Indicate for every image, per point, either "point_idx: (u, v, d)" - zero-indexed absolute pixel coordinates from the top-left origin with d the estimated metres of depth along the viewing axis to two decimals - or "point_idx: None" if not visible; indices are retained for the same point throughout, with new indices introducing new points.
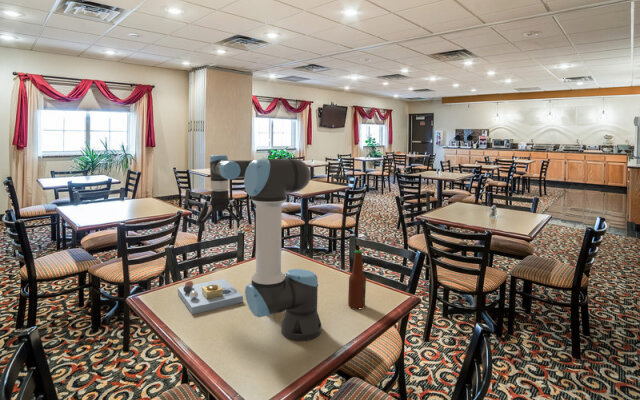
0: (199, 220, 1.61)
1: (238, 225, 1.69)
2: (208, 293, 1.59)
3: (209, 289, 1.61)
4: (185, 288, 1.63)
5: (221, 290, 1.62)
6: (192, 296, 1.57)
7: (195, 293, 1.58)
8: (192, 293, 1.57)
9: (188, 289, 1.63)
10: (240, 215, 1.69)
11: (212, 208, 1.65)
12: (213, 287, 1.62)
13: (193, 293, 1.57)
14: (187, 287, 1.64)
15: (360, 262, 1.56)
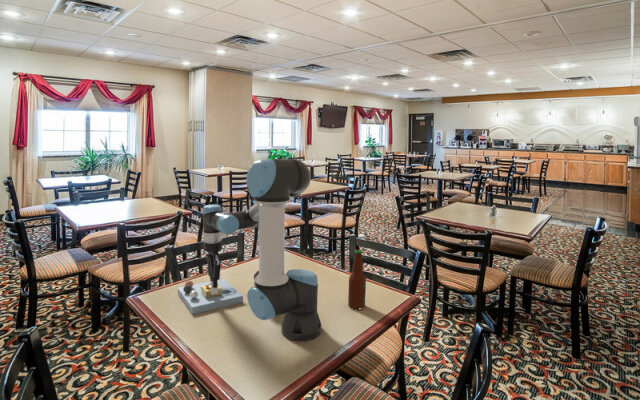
0: (208, 273, 1.61)
1: (213, 285, 1.58)
2: (207, 292, 1.59)
3: (208, 288, 1.61)
4: (185, 288, 1.63)
5: (220, 289, 1.63)
6: (192, 296, 1.57)
7: (195, 293, 1.58)
8: (192, 293, 1.57)
9: (188, 289, 1.63)
10: (213, 276, 1.56)
11: None
12: None
13: (193, 293, 1.57)
14: (187, 287, 1.64)
15: (360, 262, 1.56)
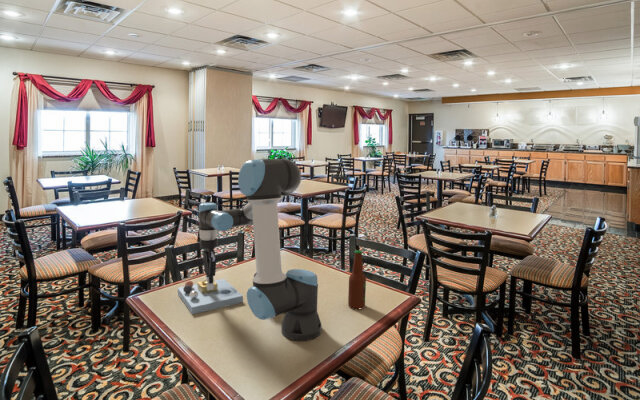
0: (204, 269, 1.66)
1: (209, 281, 1.63)
2: (203, 288, 1.64)
3: (204, 284, 1.66)
4: (185, 288, 1.63)
5: (216, 285, 1.67)
6: (192, 296, 1.57)
7: (195, 293, 1.58)
8: (192, 293, 1.57)
9: (188, 289, 1.63)
10: (209, 272, 1.60)
11: None
12: None
13: (193, 293, 1.57)
14: (187, 287, 1.64)
15: (360, 262, 1.56)
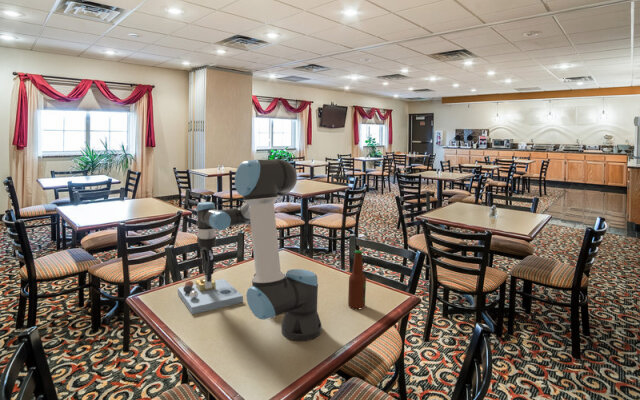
0: None
1: (207, 279, 1.65)
2: (201, 286, 1.66)
3: (202, 282, 1.68)
4: (185, 288, 1.63)
5: (214, 283, 1.69)
6: (192, 296, 1.57)
7: (195, 293, 1.58)
8: (192, 293, 1.57)
9: (188, 289, 1.63)
10: (207, 270, 1.62)
11: None
12: None
13: (193, 293, 1.57)
14: (187, 287, 1.64)
15: (360, 262, 1.56)
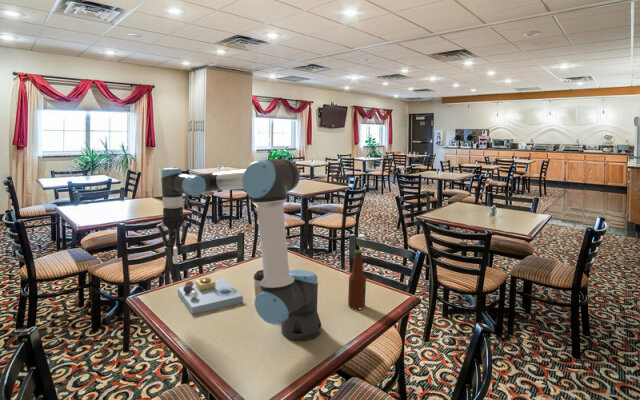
0: (166, 244, 1.48)
1: (179, 252, 1.52)
2: (201, 286, 1.66)
3: (202, 282, 1.68)
4: (185, 288, 1.63)
5: (214, 283, 1.70)
6: (192, 296, 1.57)
7: (195, 293, 1.58)
8: (192, 293, 1.57)
9: (188, 289, 1.63)
10: (183, 240, 1.52)
11: None
12: (206, 280, 1.70)
13: (193, 293, 1.57)
14: (187, 287, 1.64)
15: (360, 262, 1.56)
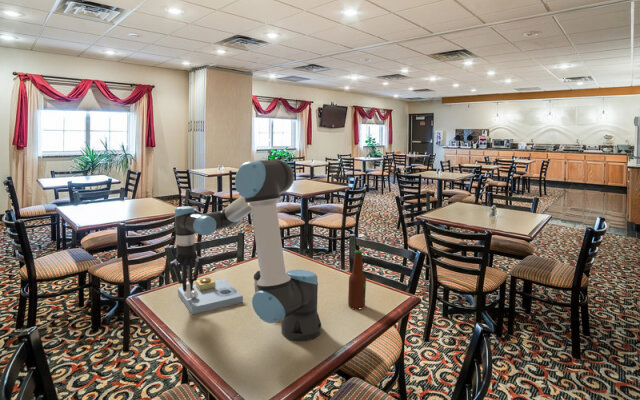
0: (180, 280, 1.53)
1: (191, 287, 1.57)
2: (201, 286, 1.66)
3: (202, 282, 1.68)
4: None
5: (214, 283, 1.70)
6: (192, 296, 1.57)
7: (195, 293, 1.58)
8: (192, 293, 1.57)
9: None
10: (196, 275, 1.57)
11: None
12: (206, 280, 1.70)
13: (193, 293, 1.57)
14: None
15: (360, 262, 1.56)
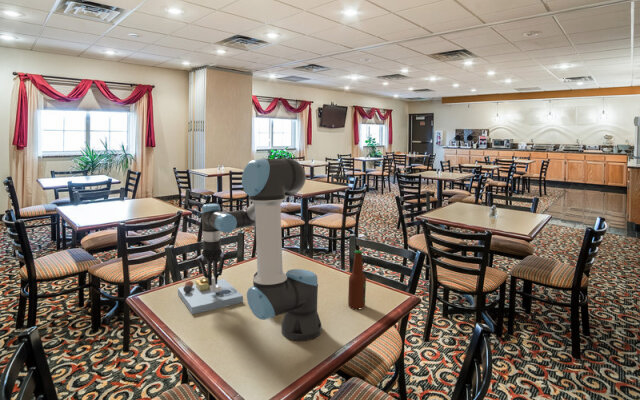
0: (206, 275, 1.59)
1: (216, 281, 1.63)
2: (201, 286, 1.66)
3: (202, 282, 1.68)
4: (185, 288, 1.63)
5: None
6: (218, 292, 1.64)
7: (217, 289, 1.63)
8: None
9: (188, 289, 1.63)
10: (221, 270, 1.63)
11: None
12: (206, 280, 1.70)
13: (216, 291, 1.63)
14: (187, 287, 1.64)
15: (360, 262, 1.56)
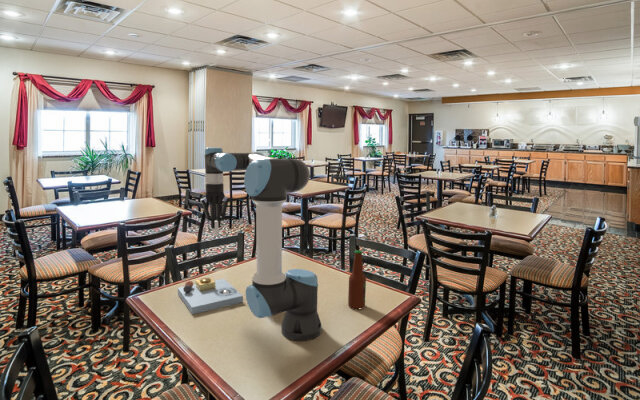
0: (209, 218, 1.62)
1: (219, 225, 1.65)
2: (201, 286, 1.66)
3: (202, 282, 1.68)
4: (185, 288, 1.63)
5: (214, 283, 1.70)
6: (226, 293, 1.66)
7: None
8: (228, 292, 1.67)
9: (188, 289, 1.63)
10: (223, 214, 1.65)
11: None
12: (206, 280, 1.70)
13: (228, 293, 1.67)
14: (187, 287, 1.64)
15: (360, 262, 1.56)
